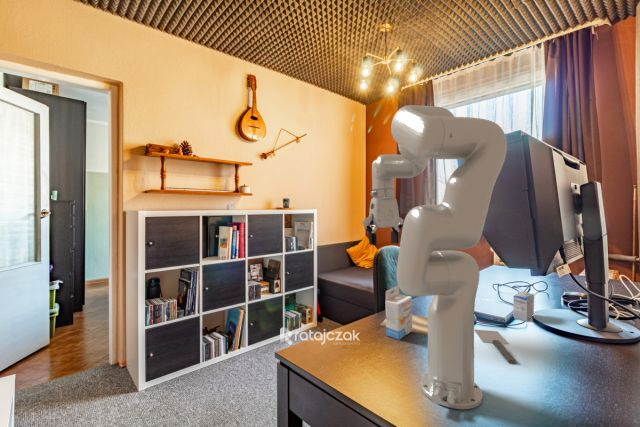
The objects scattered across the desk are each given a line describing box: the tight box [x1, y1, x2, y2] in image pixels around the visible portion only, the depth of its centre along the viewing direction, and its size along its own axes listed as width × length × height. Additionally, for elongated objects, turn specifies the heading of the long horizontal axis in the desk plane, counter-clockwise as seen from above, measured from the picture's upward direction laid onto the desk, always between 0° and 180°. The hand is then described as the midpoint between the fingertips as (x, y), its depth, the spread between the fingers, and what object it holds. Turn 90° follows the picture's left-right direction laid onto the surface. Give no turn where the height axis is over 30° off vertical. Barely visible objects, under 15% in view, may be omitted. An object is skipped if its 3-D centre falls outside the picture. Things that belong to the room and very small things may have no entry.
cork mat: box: [379, 314, 428, 337], centre depth 106 cm, size 15×16×1 cm
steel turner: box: [474, 329, 517, 365], centre depth 88 cm, size 21×7×1 cm, turn 168°
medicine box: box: [512, 291, 535, 322], centre depth 110 cm, size 8×4×9 cm, turn 130°
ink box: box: [385, 284, 413, 341], centre depth 96 cm, size 8×5×15 cm, turn 134°
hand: (384, 244), depth 103 cm, fingers open, 9 cm apart
